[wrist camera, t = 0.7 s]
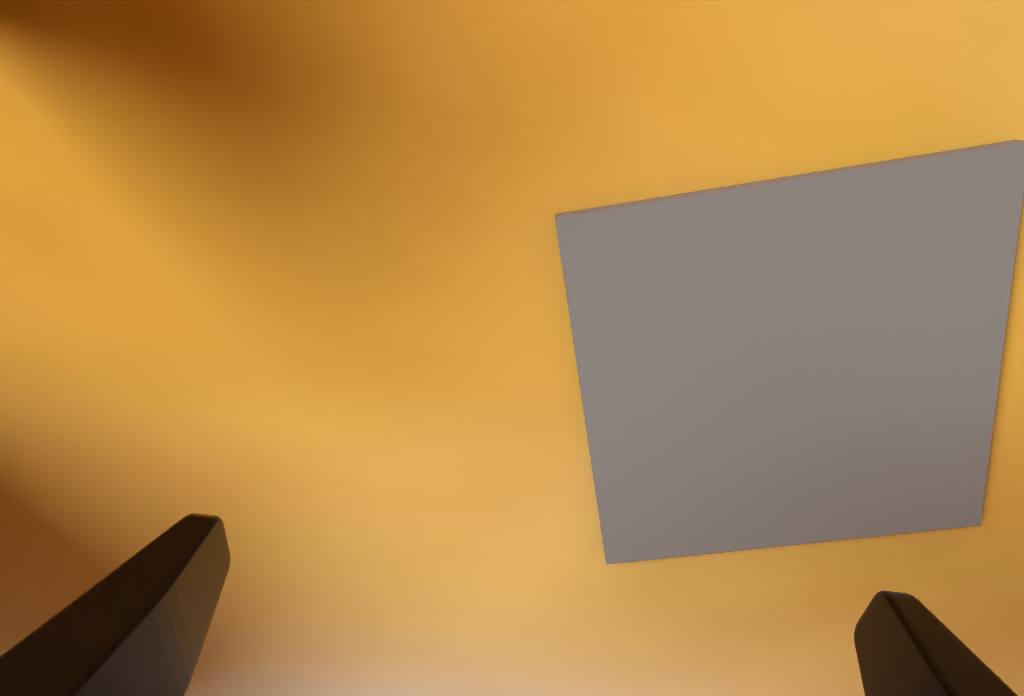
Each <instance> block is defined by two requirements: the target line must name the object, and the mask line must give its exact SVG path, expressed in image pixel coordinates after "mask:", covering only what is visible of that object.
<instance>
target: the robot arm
mask: <svg viewBox="0 0 1024 696" xmlns="http://www.w3.org/2000/svg"><path fill="white" fill-rule="evenodd" d="M229 566H230V551H229V547H228V542H227V538H226V533H225V528H224V524H223V521H222V519H221V518H220V517H219V516H215V515H206V514H197V513H194V514H189V515H187V516H185V517H183V518H182V519H181V520H179V521H178V522H177V523H175V524H174V525H173V526H172V527H170V528H169V529H168V530H166V531H165V532H164V533H162V534H161V535H160V536H158V537H157V538H156V539H154V540H153V541H152V542H150V543H149V544H148V545H146V546H145V547H144V548H143V549H141V550H140V551H139V552H137V553H136V554H135V555H133V556H132V557H131V558H129V559H128V560H127V561H125V562H124V563H123V564H121V565H120V566H119V567H118V568H116V569H115V570H114V571H112V572H111V573H110V574H108V575H107V576H106V577H104V578H103V579H102V580H100V581H99V582H98V583H96V584H95V585H94V586H93V587H91V588H90V589H89V590H87V591H86V592H85V593H83V594H82V595H81V596H79V597H78V598H77V599H75V600H74V601H73V602H71V603H70V604H69V605H67V606H66V607H65V608H64V609H62V610H61V611H60V612H58V613H57V614H56V615H54V616H53V617H52V618H50V619H49V620H48V621H46V622H45V623H44V624H42V625H41V626H40V627H39V628H37V629H36V630H35V631H33V632H32V633H31V634H29V635H28V636H27V637H25V638H24V639H23V640H21V641H20V642H19V643H17V644H16V645H15V646H14V647H12V648H11V649H10V650H8V651H7V652H6V653H4V654H3V655H2V656H0V696H184V695H185V692H186V690H187V688H188V685H189V683H190V681H191V678H192V675H193V673H194V670H195V667H196V664H197V662H198V659H199V656H200V653H201V650H202V647H203V644H204V641H205V638H206V635H207V632H208V629H209V626H210V623H211V621H212V618H213V615H214V612H215V609H216V606H217V603H218V600H219V597H220V594H221V591H222V588H223V585H224V582H225V579H226V577H227V574H228V570H229ZM854 642H855V648H856V653H857V658H858V663H859V668H860V673H861V678H862V683H863V688H864V693H865V696H1018V695H1017V694H1016V693H1015V692H1013V691H1012V690H1011V689H1010V688H1009V687H1008V686H1007V685H1006V684H1005V683H1004V682H1003V681H1002V680H1001V679H1000V678H999V677H998V676H997V675H996V674H995V673H994V672H993V671H992V670H991V669H990V668H989V667H988V666H986V665H985V664H984V663H983V662H982V661H981V660H980V659H979V658H978V657H977V656H976V655H975V654H974V653H973V652H972V651H971V650H970V649H969V648H968V647H967V646H966V645H965V644H964V643H963V642H962V641H961V640H959V639H958V638H957V637H956V636H955V635H954V634H953V633H952V632H951V631H950V630H949V629H948V628H947V627H946V626H945V625H944V624H943V623H942V622H941V621H940V620H939V619H938V618H937V617H936V616H935V615H934V614H932V613H931V612H930V611H929V610H928V609H927V608H926V607H925V606H924V605H923V604H922V603H921V602H920V601H919V600H918V599H917V598H915V597H914V596H912V595H910V594H906V593H899V592H890V591H881V592H879V593H877V594H876V595H875V596H874V598H873V599H872V601H871V602H870V604H869V605H868V607H867V608H866V610H865V612H864V613H863V615H862V616H861V618H860V619H859V621H858V623H857V625H856V628H855V632H854Z"/></svg>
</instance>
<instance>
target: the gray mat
mask: <svg viewBox="0 0 1024 696" xmlns="http://www.w3.org/2000/svg"><path fill="white" fill-rule="evenodd" d="M1023 195H1024V141H1021V140H1012V141H1006V142H1000V143H994V144H988V145H981V146H975V147H969V148H963V149H957V150H950V151H944V152H938V153H932V154H926V155H919V156H913V157H907V158H901V159H895V160H888V161H882V162H876V163H870V164H864V165H857V166H851V167H845V168H839V169H833V170H826V171H820V172H814V173H808V174H802V175H795V176H789V177H783V178H777V179H771V180H764V181H758V182H752V183H746V184H740V185H734V186H727V187H721V188H715V189H709V190H703V191H696V192H690V193H684V194H678V195H672V196H665V197H659V198H653V199H647V200H641V201H634V202H628V203H622V204H616V205H610V206H603V207H597V208H591V209H585V210H579V211H572V212H566V213H560V214H555V219H556V226H557V233H558V240H559V246H560V253H561V260H562V267H563V273H564V280H565V287H566V294H567V300H568V307H569V314H570V321H571V328H572V334H573V341H574V348H575V355H576V361H577V368H578V375H579V382H580V388H581V395H582V402H583V409H584V416H585V422H586V429H587V436H588V443H589V449H590V456H591V463H592V470H593V476H594V483H595V490H596V497H597V504H598V510H599V517H600V524H601V531H602V537H603V544H604V551H605V558H606V564H615V563H624V562H634V561H644V560H653V559H663V558H673V557H682V556H692V555H702V554H711V553H721V552H731V551H740V550H750V549H760V548H769V547H779V546H788V545H798V544H808V543H817V542H827V541H837V540H846V539H856V538H866V537H875V536H885V535H895V534H904V533H914V532H924V531H933V530H943V529H952V528H962V527H972V526H981V519H982V511H983V503H984V496H985V488H986V480H987V472H988V465H989V457H990V449H991V442H992V434H993V426H994V419H995V411H996V403H997V395H998V388H999V380H1000V372H1001V365H1002V357H1003V349H1004V342H1005V334H1006V326H1007V318H1008V311H1009V303H1010V295H1011V288H1012V280H1013V272H1014V265H1015V257H1016V249H1017V241H1018V234H1019V226H1020V218H1021V211H1022V203H1023Z"/></svg>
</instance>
